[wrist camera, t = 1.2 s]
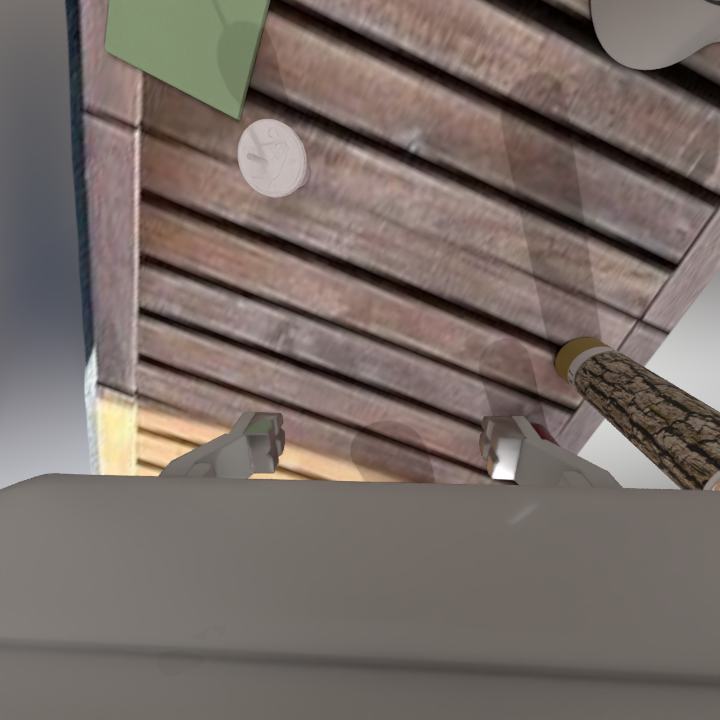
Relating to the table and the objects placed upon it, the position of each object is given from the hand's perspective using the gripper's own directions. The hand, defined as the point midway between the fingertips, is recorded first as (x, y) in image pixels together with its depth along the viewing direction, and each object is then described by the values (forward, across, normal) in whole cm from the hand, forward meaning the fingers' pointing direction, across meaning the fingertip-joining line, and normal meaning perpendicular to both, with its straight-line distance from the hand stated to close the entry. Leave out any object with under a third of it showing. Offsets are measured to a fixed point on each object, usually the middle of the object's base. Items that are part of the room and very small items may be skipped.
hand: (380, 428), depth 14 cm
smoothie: (+34, +10, -13) cm, 38 cm away
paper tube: (+34, -28, +11) cm, 45 cm away
